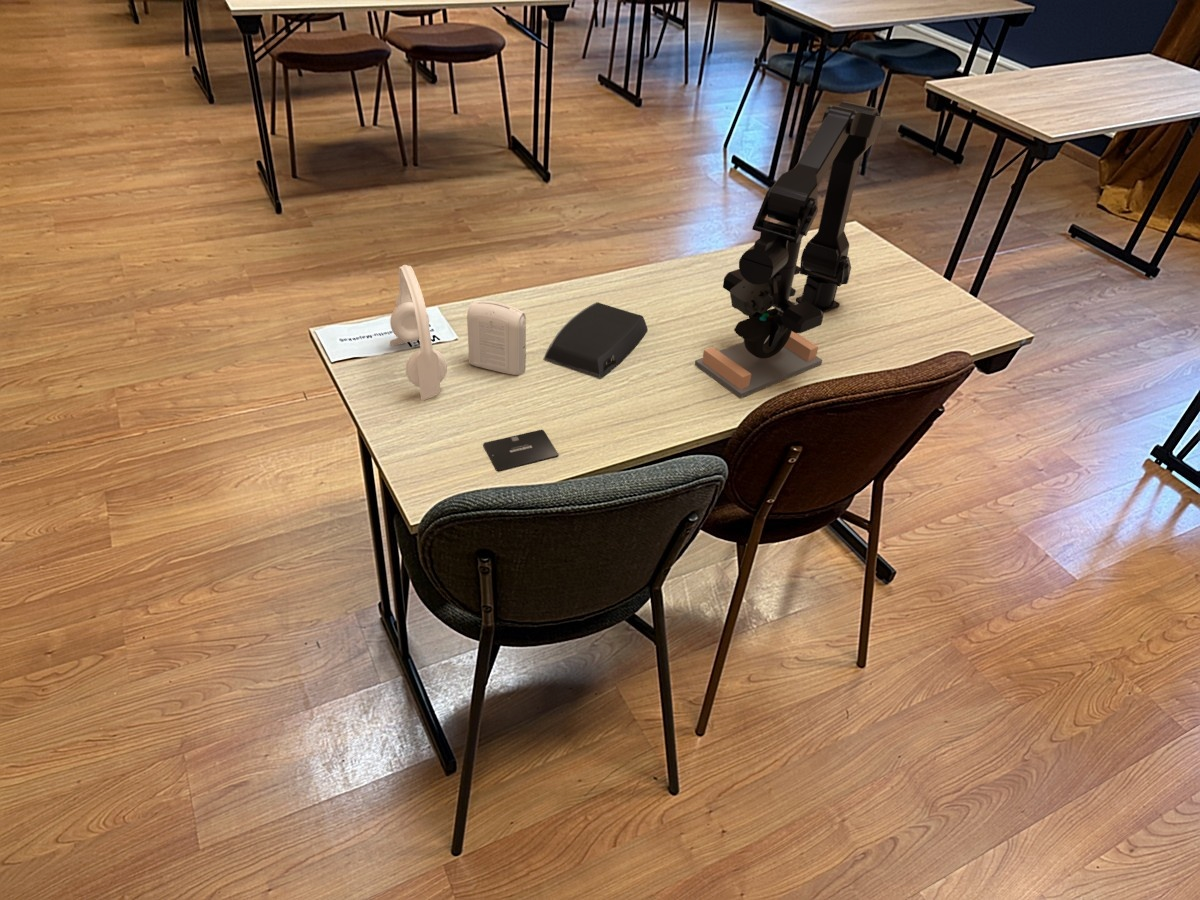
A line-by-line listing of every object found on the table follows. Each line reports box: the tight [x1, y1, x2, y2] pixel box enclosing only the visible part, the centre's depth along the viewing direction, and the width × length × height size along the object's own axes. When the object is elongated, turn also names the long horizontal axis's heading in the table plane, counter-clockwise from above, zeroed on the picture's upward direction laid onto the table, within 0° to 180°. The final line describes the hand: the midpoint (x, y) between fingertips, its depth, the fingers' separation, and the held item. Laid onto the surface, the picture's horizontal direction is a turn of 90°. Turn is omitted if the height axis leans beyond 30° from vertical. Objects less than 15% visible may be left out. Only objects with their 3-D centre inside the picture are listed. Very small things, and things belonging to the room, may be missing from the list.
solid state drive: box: [482, 429, 559, 472], centre depth 129 cm, size 7×10×1 cm
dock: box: [694, 331, 823, 399], centre depth 150 cm, size 20×12×4 cm, turn 125°
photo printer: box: [466, 300, 527, 376], centre depth 143 cm, size 10×4×12 cm, turn 72°
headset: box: [389, 264, 448, 402], centre depth 139 cm, size 20×7×18 cm, turn 20°
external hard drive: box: [542, 301, 648, 380], centre depth 153 cm, size 13×19×4 cm
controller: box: [734, 307, 792, 359], centre depth 147 cm, size 4×12×10 cm, turn 124°
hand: (763, 341), depth 148 cm, fingers closed on controller, 4 cm apart
